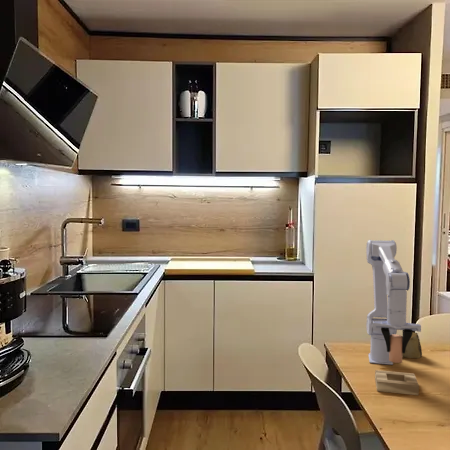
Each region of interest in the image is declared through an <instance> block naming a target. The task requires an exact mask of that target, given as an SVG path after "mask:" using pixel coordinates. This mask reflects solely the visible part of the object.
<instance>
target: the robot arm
mask: <svg viewBox="0 0 450 450" xmlns="http://www.w3.org/2000/svg"><path fill="white" fill-rule="evenodd" d="M365 246H366V247H365V249H366V252H365V253H366V262H367V264H370V265H371V268H372V281H373V283H372V284H373V285H372V286H373V300H374V301H373V303H374V304H373V307H374V309H372V310H371V311H369V312H368V313H367V315H366V323H365V326H366V327H365V328H366V332H367V335H368V336H370V352H369V353H368V361H369V363H370V364H377V365H378V364H380V365H390V366H391V365H392V366H393V365H394V362H391V361H389V352H390V345H389V340H390V335H392V334H395V335H397V333H398V332H397V331H399V330H400V331H402V336H403V348H402V353H405V350H406V346H407V344H408V342H409V340H410V338H411V336H412V332H416V333H419V332H420V333H421V332H422V325H421V324H419V323H411V322H407V306H408V305H407V302H408V300H407V298H408V297H407V296H408V291H409V290H410V287H411V279H410V278H411V277H410V275H409V273H408V272H406V271H404V270H403V268H402V266H401V264H400V263H401V262H400V261H399V260H397V259H395V257H396V255H397V251H398V250H397V248H398V247H397V242H396V241H395V240H394V239H391V240H381V239H380V240H377V239H376V240H373V239H368V240H367V242H366V245H365Z"/></svg>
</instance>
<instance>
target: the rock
mask: <svg viewBox="0 0 450 450" xmlns="http://www.w3.org/2000/svg"><path fill="white" fill-rule="evenodd" d="M422 351H423V350H422V345H421V340H420V337H419V333H418V332H415V331H412V336H411V338H410V340H409V342H408V344H407V346H406V350H405V353H402V358H408V359H420V358H422V357H423V353H422Z"/></svg>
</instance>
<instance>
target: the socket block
mask: <svg viewBox="0 0 450 450" xmlns="http://www.w3.org/2000/svg"><path fill="white" fill-rule="evenodd" d="M374 381H375V387H376V392H382V393H393V394H402V395H414V396H420V395H419V392H420V391H419V390H420V385H419V382H418V380H417V377H416V375H415V373H412V372H411V373H410V372H401V371H400V372H399V371H390V370H388V371H387V370H380V369H379V370H378V369H375V371H374Z"/></svg>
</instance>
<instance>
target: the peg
mask: <svg viewBox="0 0 450 450" xmlns="http://www.w3.org/2000/svg"><path fill="white" fill-rule="evenodd" d="M389 345H390V352H389V361H391V362H393V364H398V363H399V364H400V363H403V357H402V348H403V335H402V334H396V335H395V334H392V335H390V340H389Z"/></svg>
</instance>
